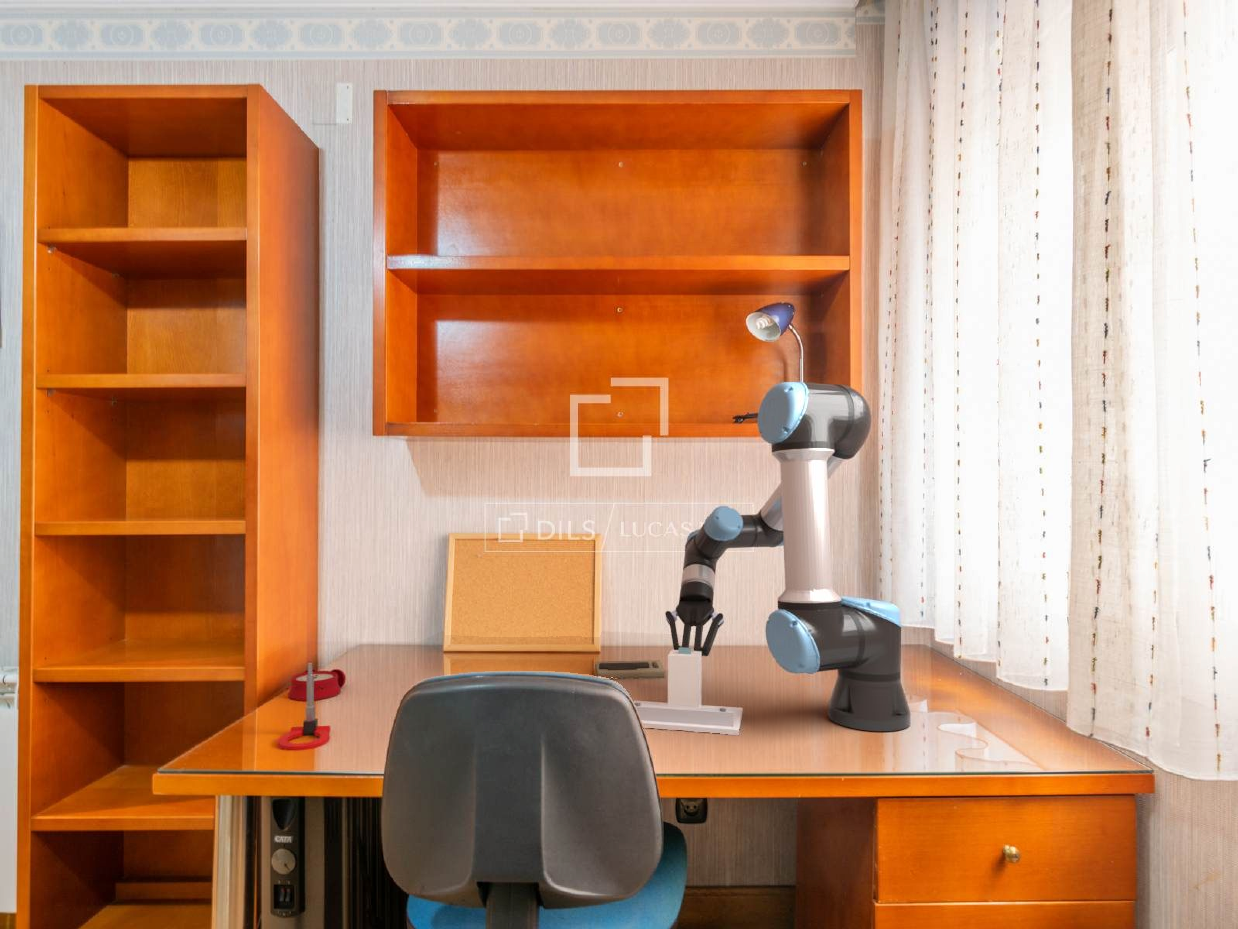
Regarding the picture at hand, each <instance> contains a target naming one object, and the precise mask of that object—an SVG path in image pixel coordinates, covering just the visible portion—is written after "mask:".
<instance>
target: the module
mask: <svg viewBox="0 0 1238 929" xmlns="http://www.w3.org/2000/svg"><path fill="white" fill-rule="evenodd" d="M702 657H703V656H702V651H694V650H692V647H689V648H684V647H682V646H681V647H679V650H674V649H671V650H670V652H668V655H667V703H668V706H682V707H697V708H701V705H702V689H703V687H702V682H703V681H702V674H703V672H702V670H703V669H702V666H703V664H702V663H703V661H702V660H703V659H702Z"/></svg>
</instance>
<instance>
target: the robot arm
mask: <svg viewBox="0 0 1238 929" xmlns="http://www.w3.org/2000/svg"><path fill="white" fill-rule="evenodd" d="M870 409H871V408H870V405H869V403H868V402H867V400H866V398H865V397H864V396H863V394H861V393H860V392H859V391H858V390H856V389H855V388H852V387H851V386H848V385H845V384H844V385H843V384H828V383H827V384H826V383H818V382H817V383H816V382H807V381H805V382H804V381H801V380H800V381H784V382H779V383H776V384H775V385H773V386H772V387H771V388H770V389H769V390H768V391H767V392H766V393H765V396H764V397H763V399H762V400H761V402H760V406H759V409H758V414H757V430H758V433H759V434H760V435H761V438H762V439H763V441H765V442H766V443H768V444H770V445H771V456H773V457H774V458H775V459H776V460H777V461H778V463H779V464H780V468H779V469H780V483H779V485H778V486H777V487H776V488H775V490H774V491H773V493H772V494H771V495H770V497H769V498H768V499H767V501H766V502H765V503H764V505H763V506H762V508H760V510H759V511H758V513H756V514H740V512H739V511H737V510H736V509H735V508H733V507H729V505H720V506H718V507H715V508H714V509H713V510H712V512H711V513H710V514H709V515H708V516H707V517H706V519H704V522H703V524H702V525H701V527H700V528H698V529H695V530H694V531H691V532H690V533H689V534H688V535H687V537H686V543H685V545H684V559H683V567H682V574H681V583H680V590H679V598H678V603H677V605H676V607H675V609H674V610H672V611H670V610H667V611H665V620H666V622H667V624H668V625H669V627H670V633H671V634H670V636H671V640H672V646H673V647H672V648H673V650H679V647H684V648H690V643H691V642H690V640H691V632H692V628H693V627H695V632H694V633H695V634H694V644H693V651H702V657H703V656H704V657H708V656H710V652H711V649H712V647H713V645H714V642H715V639H716V636H717V634H718V631H719V629H720V627H721V626H722V625H723V624H724V622H725V621H724V614H723V613H721V612H719V613H718V612H716V611H715V608H714V595H715V593H714V591H715V583H716V581H715V580H716V571H717V570H716V569H717V563H718V561H719V560H720V558H721V557H722V556H723V555H724V554H725V552H726V551H727V550H728V549H740V548H741V549H743V548H744V549H745V548H776V547H782V546H783V564H784V586H785V587H784V588H785V589H784V591H782V593H781V594H780V595H779V596H778V597H777V609H776V610H774V611H772V612H771V613H770V614H769V615H768V617H767V618H768V619H767V620H766V623H765V639H766V643H767V647H768V649H769V652H770V654H771V656H772V657H773V659H774V660H775V662H776V664H778V666H779V667H780V668H782V669H783V670H784V671H786V672H788V673H791V674H807V675H812V674H815V673H819V672H828V671H829V672H830V671H836V670H837V677H836V680H835V683H834V686H833V689H832V693H831V695H830V699H829V702H828V706H827V716H828V718H829V719H830V720H831V721H832V722H833V723H835V724H838V725H840V726H842V727H843V726H844V727H847V728H850V729H856V730H861V731H862V730H863V731H867V732H868V731H869V732H870V731H871V732H893V731H894V732H895V731H901V730H905V729H907V728H908V727H910V726H911V724H912V723H911V722H912V720H911V719H912V718H911V716H912V714H911V709H910V706H909V704H908V699H907V696H906V694H905V690H904V688H903V684H902V681H901V680H902V678H901V677H902V676H901V675H902V672H901V670H902V668H901V667H902V666H901V665H902V663H901V662H902V628H903V626H902V624H901V612H900V609H899V607H898V606H897V605H896V604H893V603H891V602H888V601H887V602H886V601H882V600H875V599H870V598H861V597H853V596H839V595H838V593H836V592H835V590H834V589H833V572H832V555H831V554H832V552H831V528H830V507H829V506H830V505H829V486H828V485H829V484H828V482H829V479H830V478H831V477H832V475H833V474H834V473H835V472H836V471H837V470H838V468H839V467H840V466H841V465H842V463H844V462H845V461H848V460H852V459H853V458H854V457H855V456H856V455H857V454H858V452H859V451H860V450H861V448H862V447H863V445H864V444H865V443H866V441H867V439H868V437H869V435H870V431H871V427H872V413H871V412H872V411H871V410H870ZM677 617H678V618H679V619H680V621H681V622H682V623H683V632H682V633H683V634H682V641H681V645H680V644H679V643H680V642H679V636H678V632H677V626H676V622H677V620H678V619H677ZM710 621H711V624H710V626H709V629H708V631H707V634H706V637H705V639H704V642H703V645H702V640H703V633H704V626H705V625H706V624H707V623H708V622H710Z"/></svg>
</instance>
